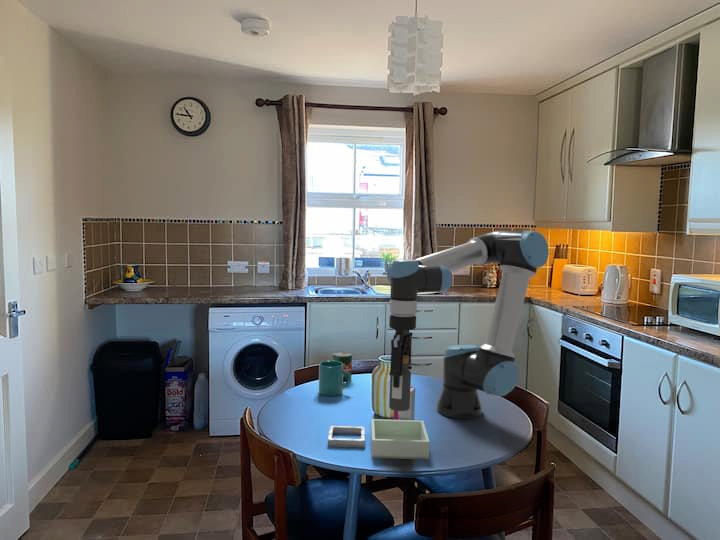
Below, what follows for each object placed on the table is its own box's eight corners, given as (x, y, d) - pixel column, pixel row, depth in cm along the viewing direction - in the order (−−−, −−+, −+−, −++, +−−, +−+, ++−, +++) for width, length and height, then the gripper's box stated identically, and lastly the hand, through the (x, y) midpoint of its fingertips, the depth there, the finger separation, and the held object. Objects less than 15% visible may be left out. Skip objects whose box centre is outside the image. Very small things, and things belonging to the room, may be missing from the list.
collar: (364, 433, 162) (364, 426, 162) (364, 447, 151) (364, 440, 151) (330, 432, 162) (330, 425, 162) (327, 446, 151) (327, 439, 151)
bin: (422, 436, 160) (423, 420, 160) (428, 459, 145) (429, 441, 144) (370, 435, 160) (371, 419, 160) (371, 457, 145) (372, 440, 144)
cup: (348, 398, 194) (349, 368, 193) (316, 395, 196) (317, 366, 195) (351, 390, 203) (352, 361, 202) (321, 388, 204) (321, 360, 204)
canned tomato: (344, 384, 211) (345, 357, 210) (328, 380, 215) (328, 354, 214) (355, 379, 218) (355, 353, 217) (338, 376, 222) (339, 350, 221)
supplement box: (414, 420, 173) (416, 386, 172) (410, 427, 168) (411, 391, 167) (397, 418, 175) (398, 384, 174) (392, 424, 169) (393, 389, 168)
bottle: (387, 409, 149) (389, 357, 148) (391, 403, 155) (393, 353, 154) (407, 412, 148) (409, 359, 147) (411, 405, 153) (413, 354, 152)
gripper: (399, 308, 159) (396, 384, 161) (379, 318, 142) (376, 402, 144) (423, 311, 157) (420, 387, 159) (407, 320, 139) (403, 406, 141)
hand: (399, 394), depth 151 cm, fingers closed on bottle, 6 cm apart
